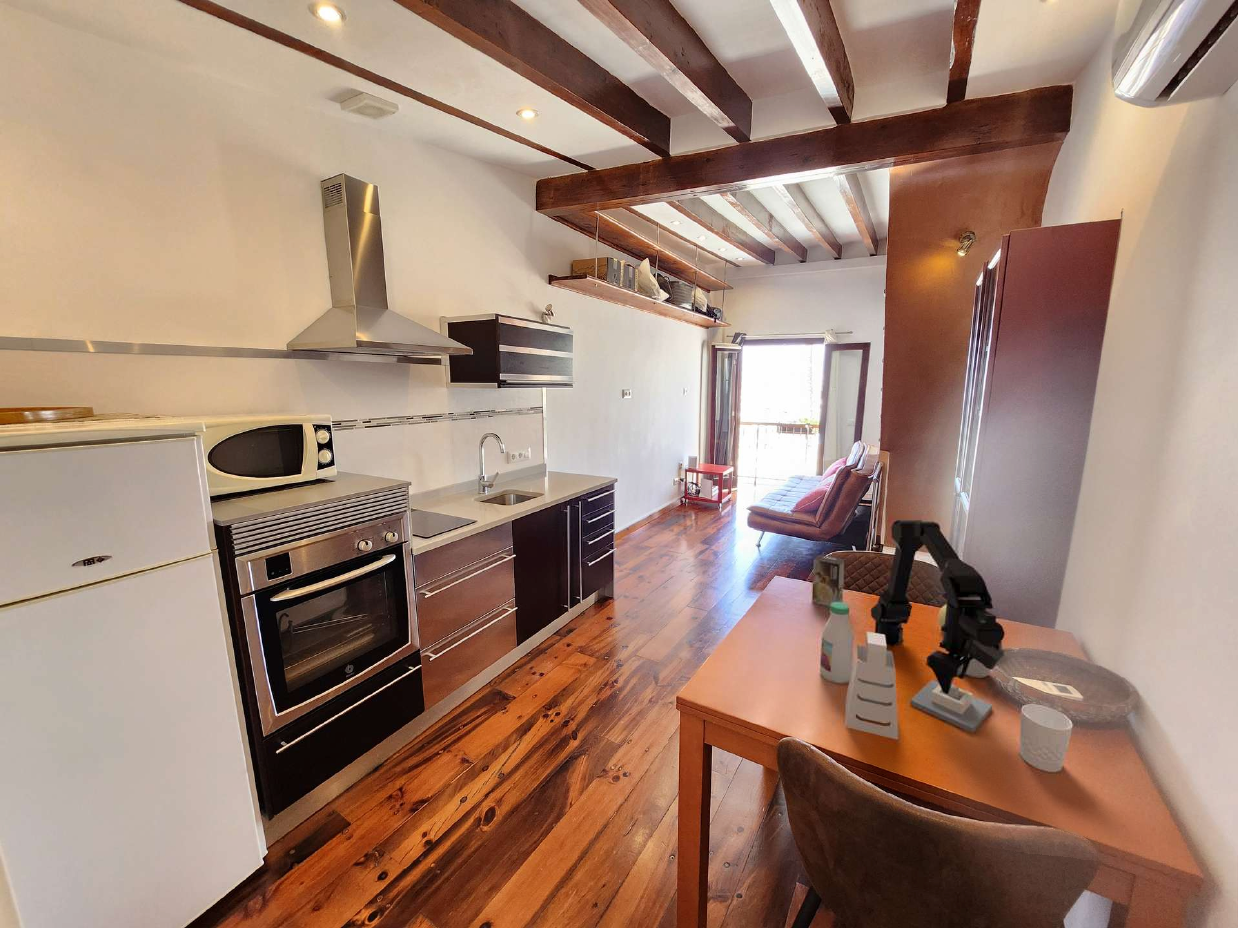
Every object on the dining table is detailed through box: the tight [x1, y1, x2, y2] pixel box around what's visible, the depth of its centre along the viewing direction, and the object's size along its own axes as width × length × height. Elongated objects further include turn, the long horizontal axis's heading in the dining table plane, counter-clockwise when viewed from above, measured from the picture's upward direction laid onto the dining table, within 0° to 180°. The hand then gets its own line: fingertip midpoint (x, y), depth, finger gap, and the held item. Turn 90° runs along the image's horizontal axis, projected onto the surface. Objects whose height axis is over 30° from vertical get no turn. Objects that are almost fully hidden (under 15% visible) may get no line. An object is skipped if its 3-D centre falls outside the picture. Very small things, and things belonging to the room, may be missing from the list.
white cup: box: [1019, 703, 1073, 773], centre depth 102 cm, size 8×8×10 cm
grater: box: [845, 631, 899, 741], centre depth 114 cm, size 10×10×20 cm
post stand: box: [909, 679, 994, 734], centre depth 119 cm, size 13×13×5 cm
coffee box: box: [811, 554, 846, 608], centre depth 175 cm, size 9×6×16 cm
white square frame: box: [931, 685, 974, 714], centre depth 119 cm, size 6×6×2 cm
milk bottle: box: [819, 602, 855, 684], centre depth 131 cm, size 8×8×20 cm
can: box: [965, 659, 991, 679], centre depth 133 cm, size 8×8×12 cm
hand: (953, 685), depth 119 cm, fingers open, 9 cm apart
